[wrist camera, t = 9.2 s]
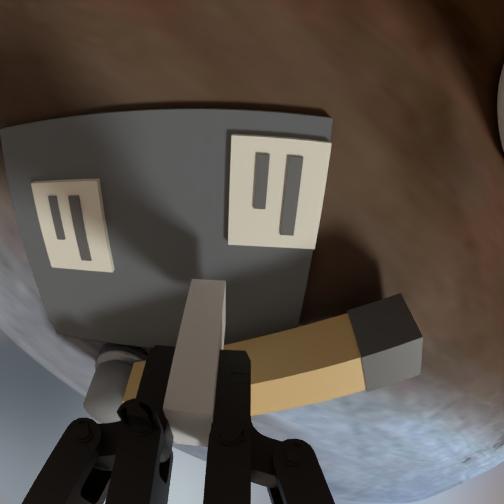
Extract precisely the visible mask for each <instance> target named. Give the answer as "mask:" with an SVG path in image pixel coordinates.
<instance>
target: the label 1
mask: <svg viewBox="0 0 504 504" xmlns="http://www.w3.org/2000/svg"><path fill="white" fill-rule="evenodd" d="M31 186H32V191H33V196H34V201H35V206H36V210H37V214H38V219H39V223H40V227H41V231H42V235H43V239H44V242H45V246H46V250H47V253H48V256H49V260H50V263H51V266H52V267H54V268H65V269H76V270H88V271H100V272H113V271H114V264H113V259H112V254H111V249H110V243H109V238H108V232H107V226H106V220H105V214H104V207H103V200H102V193H101V185H100V179H70V180H49V181H34V182H33V183H31Z"/></svg>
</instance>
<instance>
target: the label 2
mask: <svg viewBox="0 0 504 504" xmlns="http://www.w3.org/2000/svg"><path fill="white" fill-rule="evenodd" d="M331 144H332V143H331V142H328V141H320V140H310V139H300V138H289V137H277V136H262V135H245V134H232V136H231V161H230V190H229V224H228V245H243V246H263V247H282V248H301V249H315V245H316V240H317V234H318V228H319V223H320V217H321V211H322V205H323V198H324V192H325V186H326V179H327V172H328V165H329V158H330V151H331Z"/></svg>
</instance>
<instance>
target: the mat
mask: <svg viewBox="0 0 504 504" xmlns="http://www.w3.org/2000/svg"><path fill="white" fill-rule="evenodd" d="M332 122H333V118H331V117H326V116H318V115H310V114H300V113H290V112H278V111H265V110H248V109H222V108H169V109H143V110H127V111H114V112H103V113H93V114H84V115H76V116H68V117H61V118H54V119H48V120H41V121H36V122H30V123H25V124H19V125H14V126H10V127H5V128H2V129H0V136H1V144H2V151H3V157H4V163H5V169H6V175H7V180H8V185H9V190H10V194H11V199H12V203H13V207H14V212H15V216H16V219H17V223H18V227H19V231H20V234H21V238H22V241H23V245H24V248H25V251H26V254H27V257H28V261H29V264H30V267H31V270H32V272H33V275H34V278H35V281H36V284H37V286H38V289H39V292H40V294H41V297H42V300H43V302H44V305H45V307H46V310H47V312H48V314H49V317H50V319H51V322H52V324H53V326H54V328H55V331H56V333H57V334H61V335H66V336H72V337H77V338H83V339H89V340H96V341H102V342H109V343H116V344H123V345H131V346H139V347H147V348H153V347H154V346H155V345H163V346H173V347H176V344H177V339H178V335H179V330H180V326H181V322H182V318H183V313H184V309H185V305H186V301H187V297H188V293H189V289H190V285H191V281H192V279H206V280H224V281H226V325H225V336H224V345H227V344H232V343H236V342H241V341H245V340H249V339H253V338H258V337H262V336H266V335H270V334H274V333H278V332H281V331H285V330H289V329H293V328H297V327H298V324H299V319H300V314H301V310H302V305H303V300H304V295H305V290H306V285H307V280H308V274H309V269H310V264H311V258H312V253H313V249H301V248H282V247H263V246H243V245H228V224H229V190H230V161H231V136H232V134H245V135H262V136H277V137H289V138H300V139H310V140H320V141H328V142H330V138H331V130H332ZM70 179H100V185H101V193H102V200H103V207H104V214H105V220H106V226H107V232H108V238H109V243H110V249H111V254H112V259H113V264H114V271H113V272H100V271H88V270H76V269H65V268H54V267H52V266H51V263H50V260H49V256H48V253H47V250H46V246H45V242H44V239H43V235H42V231H41V227H40V223H39V219H38V214H37V210H36V206H35V201H34V196H33V191H32V186H31V183H33V182H34V181H49V180H70Z"/></svg>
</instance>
